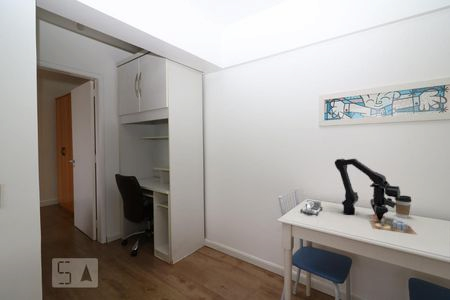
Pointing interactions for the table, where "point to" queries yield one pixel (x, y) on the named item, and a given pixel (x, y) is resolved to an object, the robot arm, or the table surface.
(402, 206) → the coffee cup
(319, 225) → the table surface
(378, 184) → the robot arm
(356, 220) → the table surface
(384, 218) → the gear
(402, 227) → the gear
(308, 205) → the phone holder
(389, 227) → the gear board
